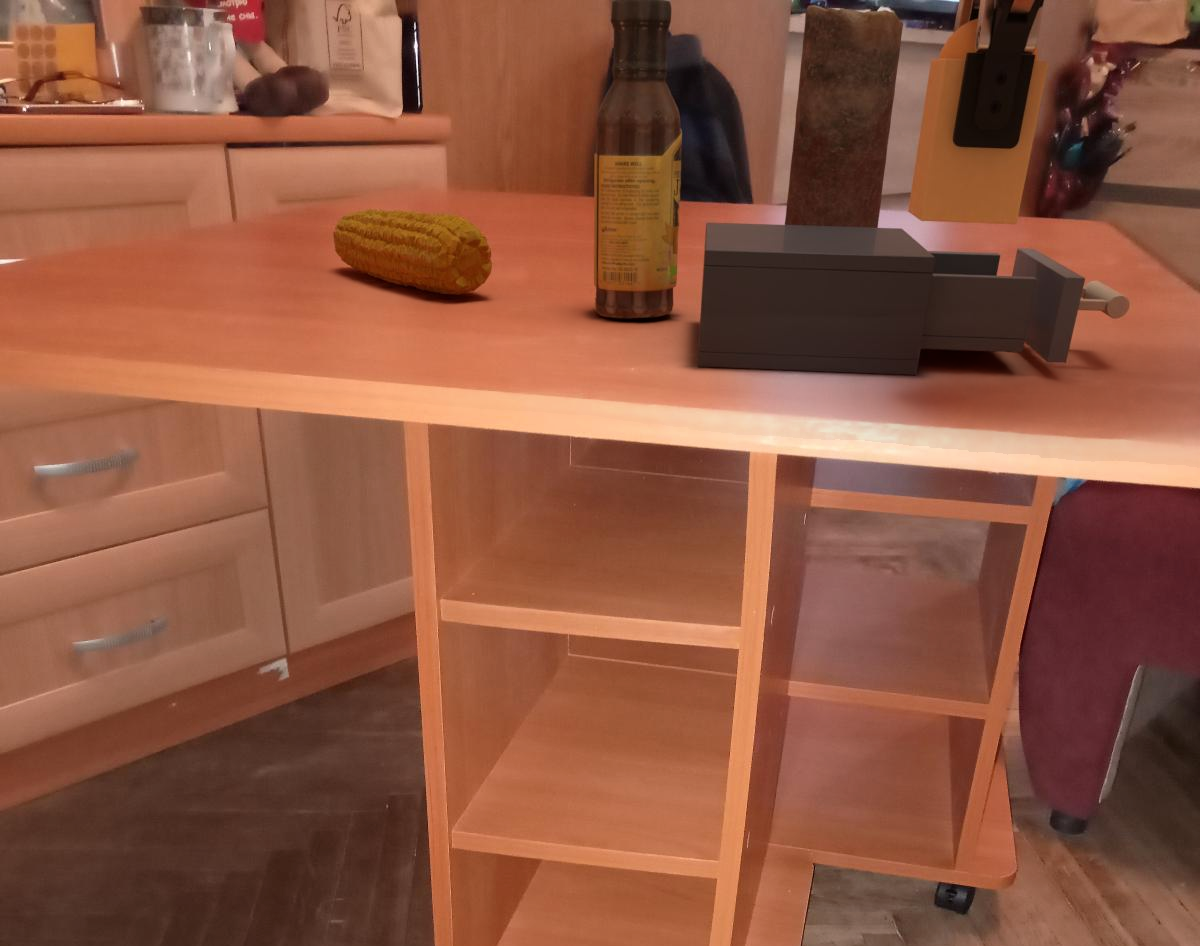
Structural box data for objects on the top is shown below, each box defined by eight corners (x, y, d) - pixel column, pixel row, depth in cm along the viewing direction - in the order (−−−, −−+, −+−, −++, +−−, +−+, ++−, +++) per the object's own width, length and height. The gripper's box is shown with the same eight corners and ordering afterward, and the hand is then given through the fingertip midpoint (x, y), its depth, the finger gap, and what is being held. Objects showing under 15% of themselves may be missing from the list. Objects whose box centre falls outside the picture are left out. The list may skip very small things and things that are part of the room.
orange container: (998, 215, 64) (1035, 20, 59) (1016, 224, 60) (1057, 17, 55) (907, 211, 64) (937, 18, 60) (920, 220, 61) (953, 14, 56)
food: (504, 298, 93) (502, 216, 89) (446, 306, 90) (441, 221, 86) (366, 265, 106) (360, 192, 103) (311, 270, 103) (303, 195, 99)
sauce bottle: (687, 320, 86) (705, -3, 76) (609, 324, 84) (617, -6, 74) (654, 305, 91) (667, 1, 81) (580, 309, 89) (583, -2, 79)
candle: (793, 292, 98) (822, 8, 87) (878, 300, 95) (919, 8, 84) (764, 306, 92) (791, 3, 81) (853, 315, 90) (893, 3, 79)
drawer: (1078, 325, 83) (1096, 250, 80) (1134, 365, 72) (1157, 280, 69) (843, 317, 84) (852, 242, 81) (863, 355, 73) (874, 270, 70)
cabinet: (887, 331, 84) (902, 228, 81) (916, 375, 72) (935, 257, 69) (699, 324, 85) (706, 222, 82) (697, 366, 73) (705, 249, 70)
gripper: (1215, -396, 43) (1091, 157, 53) (1091, -281, 58) (1011, 138, 67) (1013, -397, 44) (927, 152, 54) (939, -283, 58) (882, 134, 68)
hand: (974, 140), depth 60 cm, fingers closed on orange container, 4 cm apart
